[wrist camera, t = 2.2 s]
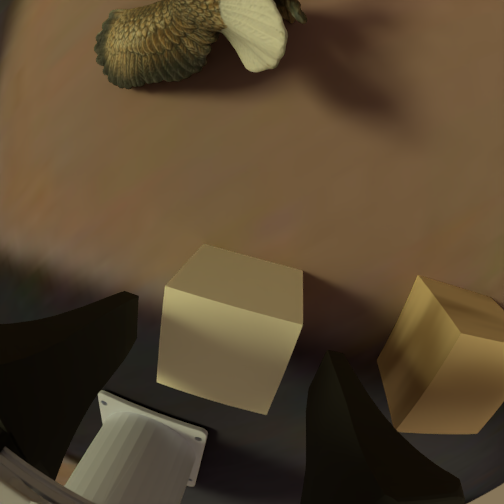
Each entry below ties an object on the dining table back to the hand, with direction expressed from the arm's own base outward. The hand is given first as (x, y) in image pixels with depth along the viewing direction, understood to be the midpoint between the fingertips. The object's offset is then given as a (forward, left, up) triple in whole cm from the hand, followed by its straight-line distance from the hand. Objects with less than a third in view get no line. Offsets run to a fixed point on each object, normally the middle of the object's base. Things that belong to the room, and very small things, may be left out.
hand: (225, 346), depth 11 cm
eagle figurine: (+12, +5, -4) cm, 14 cm away
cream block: (0, 0, -4) cm, 4 cm away
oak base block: (+1, -10, -4) cm, 11 cm away
